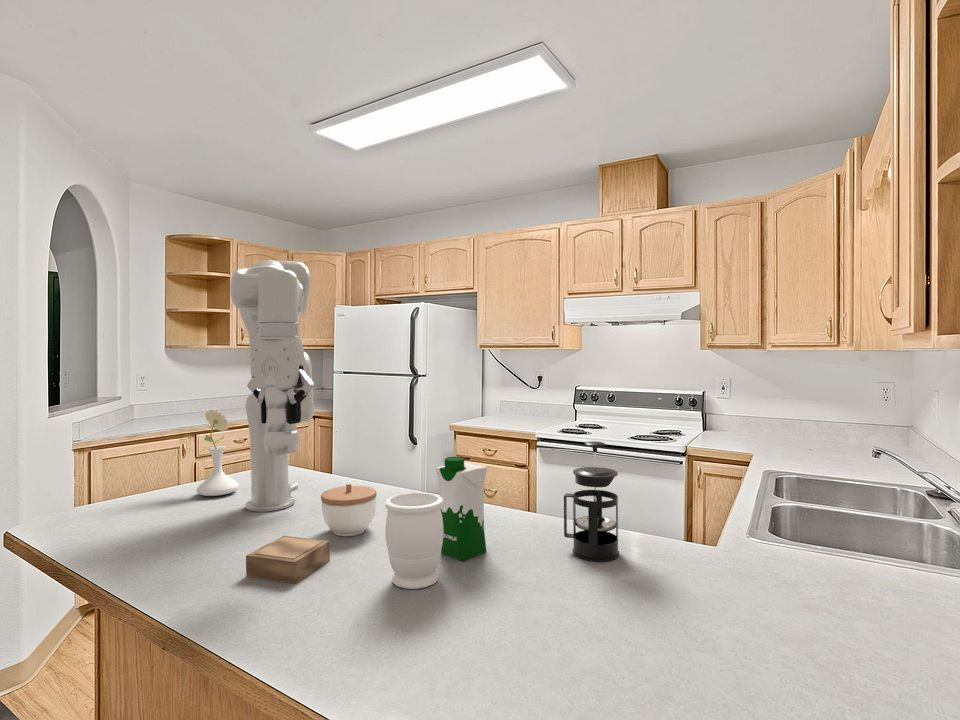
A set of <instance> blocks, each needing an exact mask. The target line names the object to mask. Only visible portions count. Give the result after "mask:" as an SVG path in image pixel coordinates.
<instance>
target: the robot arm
mask: <svg viewBox="0 0 960 720" xmlns="http://www.w3.org/2000/svg"><path fill="white" fill-rule="evenodd" d="M310 274H311V273H310V270H309V268H308V267H307V266H306V264H304V263H303V262H301V261H297V260H276V259H262V260H259V261H257V262H254V264H253V265H252V266H251V267H246V268H240V269H236V270H235V271H234V272H233V274H232V275H231V280H230V287H229V288H230V292H229V293H230V299H231V302H232V304H233V305H234V307H235V308H237V309H238V310H239V314H240V317H241V319H242V321H243V322H242V323H243V324H244V326H245V328H246V330H247V331H246V332H247V335H248V339H249V366H250V367H249V369H250V377H251V379H250V381H248V383H247V388H248V389H249V390H250V391H251V393H250V394H249V395H248V396H247V398H246V401H245V412H246V418H247V423H248V431H249V447H250V449H249V450H250V451H249V452H250V486H251V487H250V488H251V490H250V492H251V499H250V500H248V501H247V502H246V503H245V509H246V510H248V511H251V512H256V513H257V512H258V513H261V512H263V513H264V512H274V511H280V510H283V509H287V508H289V507H291V506H293V505H294V504H295V503H296V499H295V497H294V496H292V495H291V493H292V492H294V491H297V490H298V489H299V485H298V483H292V484H289V483H290V481H289V454H286V455H275V454H269V453H267V451H266V450H265V447H264V435H265V432H266V403H265V396H264V391H263V390H264V388H265V386H264V380H265V378H266V377H267V376H269V375H272V377H273V376H274V378H275V380H276V381H277V386H276V388H278V389H280V390H284V389H287V394H288V397H289V400H290V403H291V404H288V423H289V424H295V423H296V424H302V423H307V422H310V421H311V420H312V419H313V417H314V413H315V412H314V411H315V410H314V409H315V402H314V400H315V399H314V388H315V383H314V382H313V368H312V361H311V358H310V355H309V354H308V353H307V352H305V350H304V346H303V341H302V339H301V338H300V337H299V336H300V327H299V317H302V316H303V315H304V314H305V313H306V310H307V307H308V303H309V302H308V300H309V295H310V290H311V275H310ZM293 386H296V387H293ZM294 391H295V393H294Z"/></svg>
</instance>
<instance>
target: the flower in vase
mask: <svg viewBox="0 0 960 720" xmlns="http://www.w3.org/2000/svg"><path fill="white" fill-rule="evenodd" d="M204 415H205V420H206V421H207V422H208V424H209V425H211V430H210V434H209V435H210V436H209V435H208V434H206V435H205V437H204V441H207V442H209V443H212V445H213V446H210V447H208V448H207V450H208V451H209V453H210V455H211V457H212V458H211V459H212V465H213V467H212V472H211V474H210V476H208V477H206V479H205V480H204V481H202V482H201V483H200V484H199V486H197V487H196V492H197V494H198V495H200V496H205V497H206V496H207V497H216V496H217V497H218V496H223V495H228V494H231V493H233V492H235V491H237V490H238V488H239V487H240V485H239V483H238V482H237V481H236V480H235V479H233V478H232V477H230V476H229V475H227V474H226V473H225V472H224V471H223V467H222V466H223V465H222V463H223V462H222V461H223V454H224V452H225V450H226V448H227V446H226V445H225V446H224V445H218V446H217V445H216V443H218V442H219V441H220V440H222V439H224V435H222V437H221V438H218V439H217V440H216V441H214V439H213V436H212V435H213V430H214V429H215V430H218V431H221V432H222V431H223V432H224V431H227V430H229V425H230V424H229V422H228V419H227V418H226V415H224V414H222V412H219V411H218V410H217V409H216V410H215V411H214V410H213V409H211V408H210V409H209V410H208V411H206V412H205V414H204Z"/></svg>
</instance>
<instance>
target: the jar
mask: <svg viewBox="0 0 960 720" xmlns="http://www.w3.org/2000/svg"><path fill="white" fill-rule="evenodd" d="M442 504H443V498H442V497H441V496H440V494H435V493H429V492H408V493H406V492H405V493H400V494H395V495H393V496H390V497H389V498H387V499H386V500H385V508H386V509H387V510H388V512H387V516H386V520H385V542H386V548H387V551H388V559H389V560H388V561H389V563H390V566H391V568H392V571H393V572H394V574H393V576H392V579H391V581H392V583H393V584H394V585H395V586H397V587H399V588H401V589H405V590H406V589H407V590H417V589H419V590H420V589H424V588H429V587H430V586H432V585H434V584H436V583H437V582H438V580H439V578H440V577H439V573H438V571H437V568H438V566H439V565H440V562H441V558H442V557H441V556H442V554H441V549H442V544H443V532H444V530H443V519H442V514H441V510H440V507H441V506H442Z"/></svg>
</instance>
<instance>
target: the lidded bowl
mask: <svg viewBox="0 0 960 720" xmlns="http://www.w3.org/2000/svg"><path fill="white" fill-rule="evenodd" d="M320 501H321V510H322V517H323V520H324V523H325V524H326V526H327V527H328V528H329V530H331V531H332V532H333V534H334V535H335V536H338V537H339V536H340V537H351V536H352V537H354V536H357V535H360V534H361V535H362V534H363V533H365V531H366V529H367V528H368V527H369V526H370V524H371V523H372V522H373V519H374V517H375V514H376V513H375V512H376V507H377V490H376V489H375V488H374V487H371V486H368V485H366V486H365V485H352V483H347V484H346V485H345V486H338V487H333V488H330V489H327V490H326V491H323V492H322V493H321V495H320Z"/></svg>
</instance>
